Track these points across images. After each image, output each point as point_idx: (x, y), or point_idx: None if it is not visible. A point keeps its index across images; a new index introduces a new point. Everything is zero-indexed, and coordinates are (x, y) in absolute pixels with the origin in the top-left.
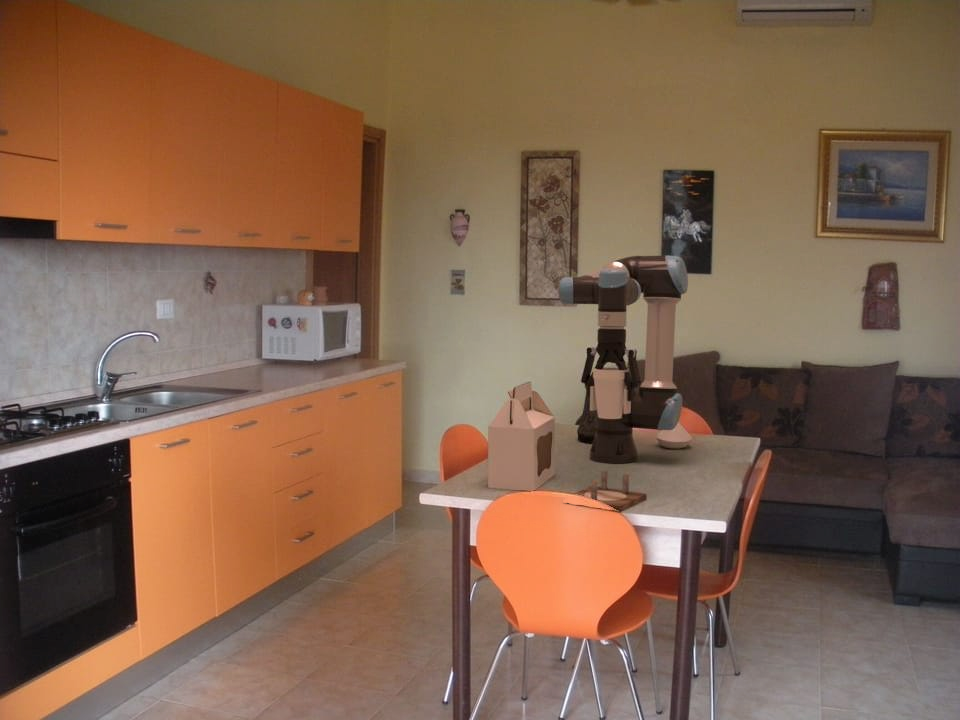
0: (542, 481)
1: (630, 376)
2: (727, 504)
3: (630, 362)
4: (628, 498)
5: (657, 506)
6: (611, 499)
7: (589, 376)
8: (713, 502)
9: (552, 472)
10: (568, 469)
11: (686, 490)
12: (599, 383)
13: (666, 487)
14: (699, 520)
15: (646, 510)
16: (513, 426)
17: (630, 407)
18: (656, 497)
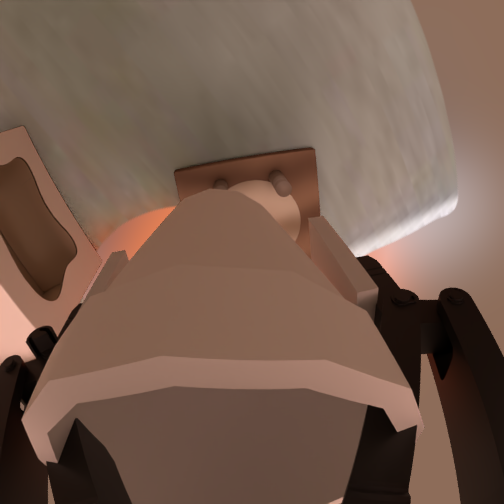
0: (65, 209)
1: (419, 366)
2: (439, 85)
3: (478, 498)
4: (305, 210)
5: (354, 180)
6: None
7: (20, 396)
8: (418, 84)
9: (25, 139)
10: (9, 59)
11: (332, 17)
12: (213, 444)
13: (282, 17)
14: (437, 214)
15: (351, 220)
16: None
17: (332, 229)
18: (317, 115)
